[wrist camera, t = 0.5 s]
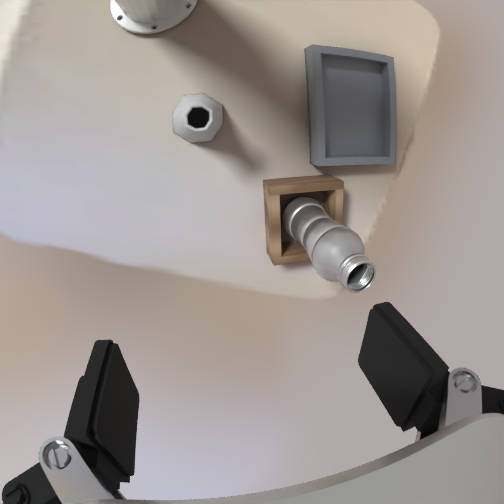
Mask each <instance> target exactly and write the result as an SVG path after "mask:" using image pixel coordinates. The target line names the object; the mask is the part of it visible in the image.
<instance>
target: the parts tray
mask: <svg viewBox="0 0 504 504" xmlns="http://www.w3.org/2000/svg"><path fill="white" fill-rule="evenodd" d="M304 50H305V62H306V76H307V92H308V111H309V136H310V163H311V164H313V165H316V166H338V165H373V164H395V159H396V90H395V72H394V59H393V57H390V56H386V55H381V54H376V53H370V52H365V51H359V50H352V49H345V48H338V47H330V46H320V45H311V46H309V47H307V48H305V49H304Z"/></svg>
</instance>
